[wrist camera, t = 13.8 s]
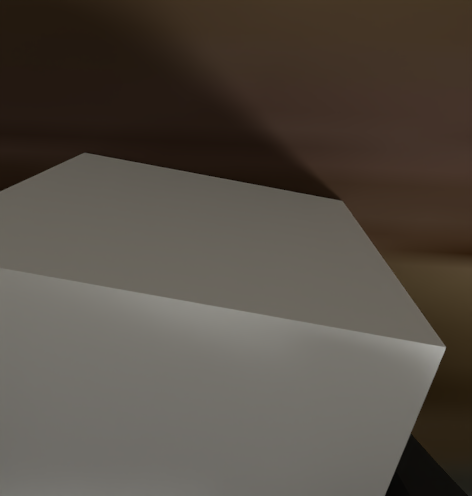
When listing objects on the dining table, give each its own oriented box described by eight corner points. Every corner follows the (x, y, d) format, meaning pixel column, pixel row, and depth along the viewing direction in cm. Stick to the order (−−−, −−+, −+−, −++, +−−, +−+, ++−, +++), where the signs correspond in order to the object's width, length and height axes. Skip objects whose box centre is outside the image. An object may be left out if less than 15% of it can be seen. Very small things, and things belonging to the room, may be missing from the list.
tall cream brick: (266, 474, 14) (276, 756, 8) (67, 441, 13) (-67, 706, 8) (342, 200, 10) (446, 347, 5) (84, 152, 10) (-120, 246, 5)
